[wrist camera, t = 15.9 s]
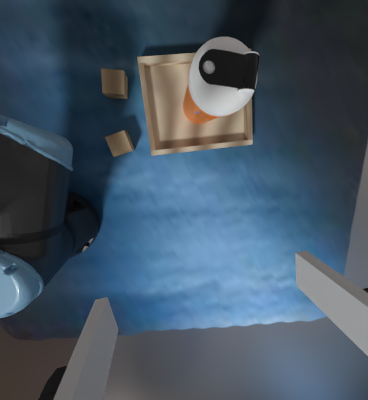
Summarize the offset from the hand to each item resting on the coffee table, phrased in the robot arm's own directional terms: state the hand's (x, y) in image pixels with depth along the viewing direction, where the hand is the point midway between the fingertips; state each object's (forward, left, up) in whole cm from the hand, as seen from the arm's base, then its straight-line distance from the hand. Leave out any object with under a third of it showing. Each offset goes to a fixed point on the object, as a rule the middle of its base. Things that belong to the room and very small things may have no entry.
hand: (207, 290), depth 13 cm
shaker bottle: (+7, +18, -34) cm, 39 cm away
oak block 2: (-10, +12, -35) cm, 38 cm away
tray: (+7, +18, -34) cm, 39 cm away
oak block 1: (-9, +23, -35) cm, 42 cm away
